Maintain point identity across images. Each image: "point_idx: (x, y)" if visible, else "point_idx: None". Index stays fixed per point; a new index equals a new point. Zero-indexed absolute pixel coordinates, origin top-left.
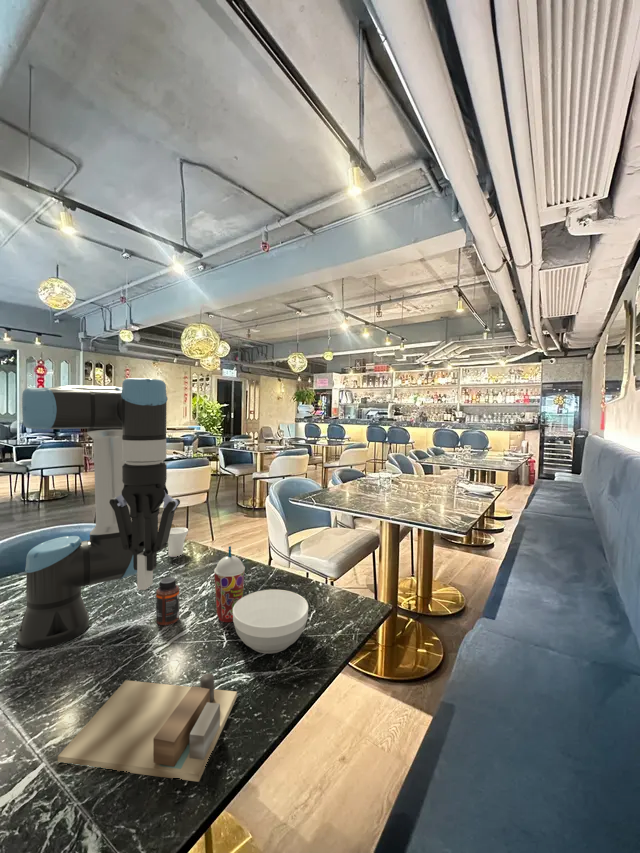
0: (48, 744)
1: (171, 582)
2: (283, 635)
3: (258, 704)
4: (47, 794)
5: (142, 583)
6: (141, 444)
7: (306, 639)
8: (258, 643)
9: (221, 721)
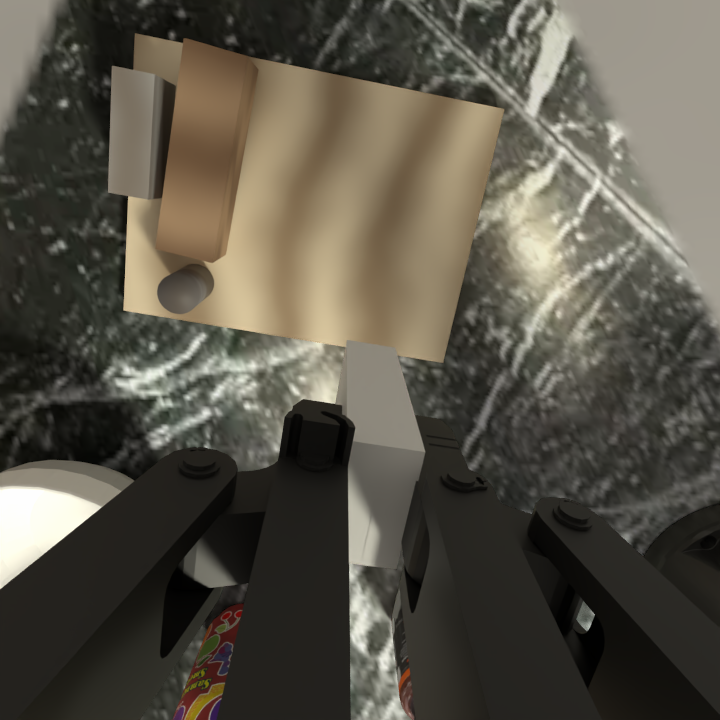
0: (547, 170)
1: None
2: None
3: (64, 279)
4: (482, 24)
5: (362, 353)
6: None
7: None
8: (82, 464)
9: (132, 203)
